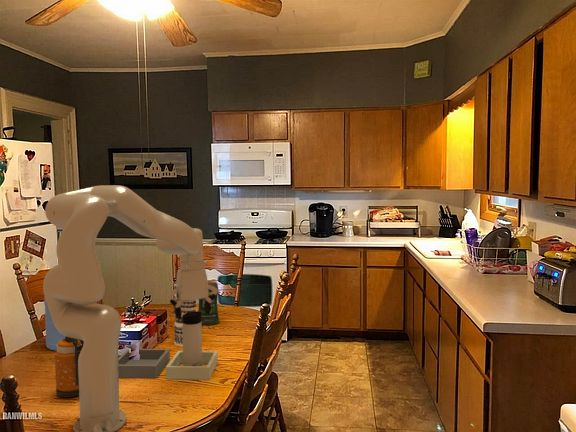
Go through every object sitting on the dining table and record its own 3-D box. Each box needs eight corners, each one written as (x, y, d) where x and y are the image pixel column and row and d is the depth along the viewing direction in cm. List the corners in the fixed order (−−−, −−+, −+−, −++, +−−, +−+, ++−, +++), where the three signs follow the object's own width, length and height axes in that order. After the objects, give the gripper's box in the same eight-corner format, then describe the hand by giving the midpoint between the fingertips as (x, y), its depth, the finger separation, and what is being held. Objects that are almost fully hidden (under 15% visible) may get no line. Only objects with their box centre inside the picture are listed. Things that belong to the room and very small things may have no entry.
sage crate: (209, 379, 142) (209, 367, 142) (166, 379, 143) (166, 367, 142) (217, 362, 156) (217, 351, 156) (178, 362, 156) (178, 350, 156)
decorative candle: (200, 338, 180) (199, 278, 179) (192, 346, 171) (191, 283, 170) (178, 338, 181) (177, 277, 180) (170, 346, 172) (168, 282, 170)
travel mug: (198, 375, 146) (197, 315, 144) (180, 373, 147) (178, 314, 146) (205, 367, 152) (205, 310, 150) (187, 366, 153) (187, 309, 152)
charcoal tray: (156, 378, 143) (155, 366, 143) (110, 377, 144) (110, 365, 143) (169, 360, 158) (169, 349, 158) (128, 359, 159) (128, 348, 158)
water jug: (36, 349, 169) (33, 276, 167) (66, 336, 184) (63, 269, 182) (71, 353, 165) (68, 278, 163) (98, 339, 180) (96, 271, 178)
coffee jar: (197, 326, 197) (196, 284, 196) (197, 320, 205) (197, 281, 203) (219, 325, 198) (218, 284, 197) (219, 319, 206) (218, 280, 205)
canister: (80, 382, 140) (78, 320, 139) (98, 393, 133) (96, 327, 132) (51, 392, 133) (48, 327, 132) (67, 404, 126) (65, 335, 125)
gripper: (213, 261, 154) (214, 309, 156) (162, 266, 146) (164, 317, 148) (220, 264, 148) (221, 315, 149) (168, 270, 140) (170, 323, 141)
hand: (193, 316), depth 149 cm, fingers open, 9 cm apart
